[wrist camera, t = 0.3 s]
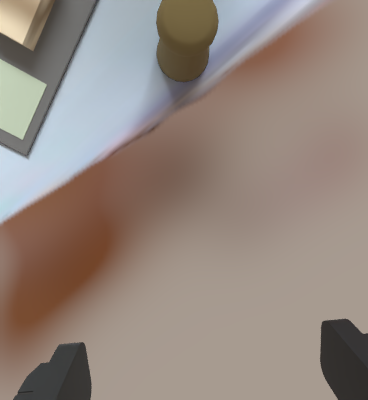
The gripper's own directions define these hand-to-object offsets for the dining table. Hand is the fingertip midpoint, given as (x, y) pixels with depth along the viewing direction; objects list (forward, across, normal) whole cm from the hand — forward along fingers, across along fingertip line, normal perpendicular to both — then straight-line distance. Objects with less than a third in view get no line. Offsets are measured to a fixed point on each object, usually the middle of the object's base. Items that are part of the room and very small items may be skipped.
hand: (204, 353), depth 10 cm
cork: (+28, -2, -16) cm, 33 cm away
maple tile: (+28, +15, -22) cm, 38 cm away
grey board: (+28, +18, -18) cm, 38 cm away
